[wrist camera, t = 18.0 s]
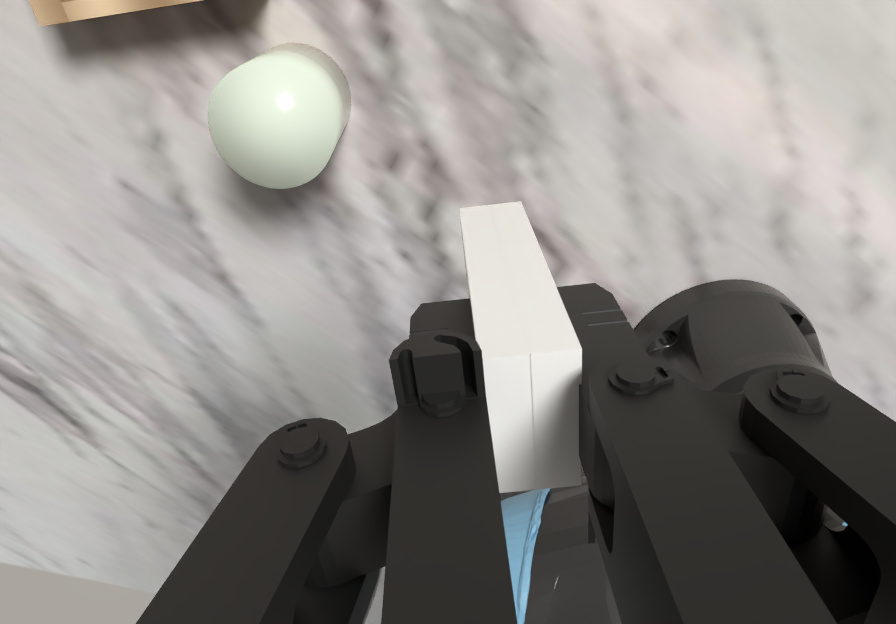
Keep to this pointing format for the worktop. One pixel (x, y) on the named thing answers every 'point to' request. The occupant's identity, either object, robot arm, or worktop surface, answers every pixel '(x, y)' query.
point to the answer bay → (91, 8)
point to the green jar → (280, 115)
